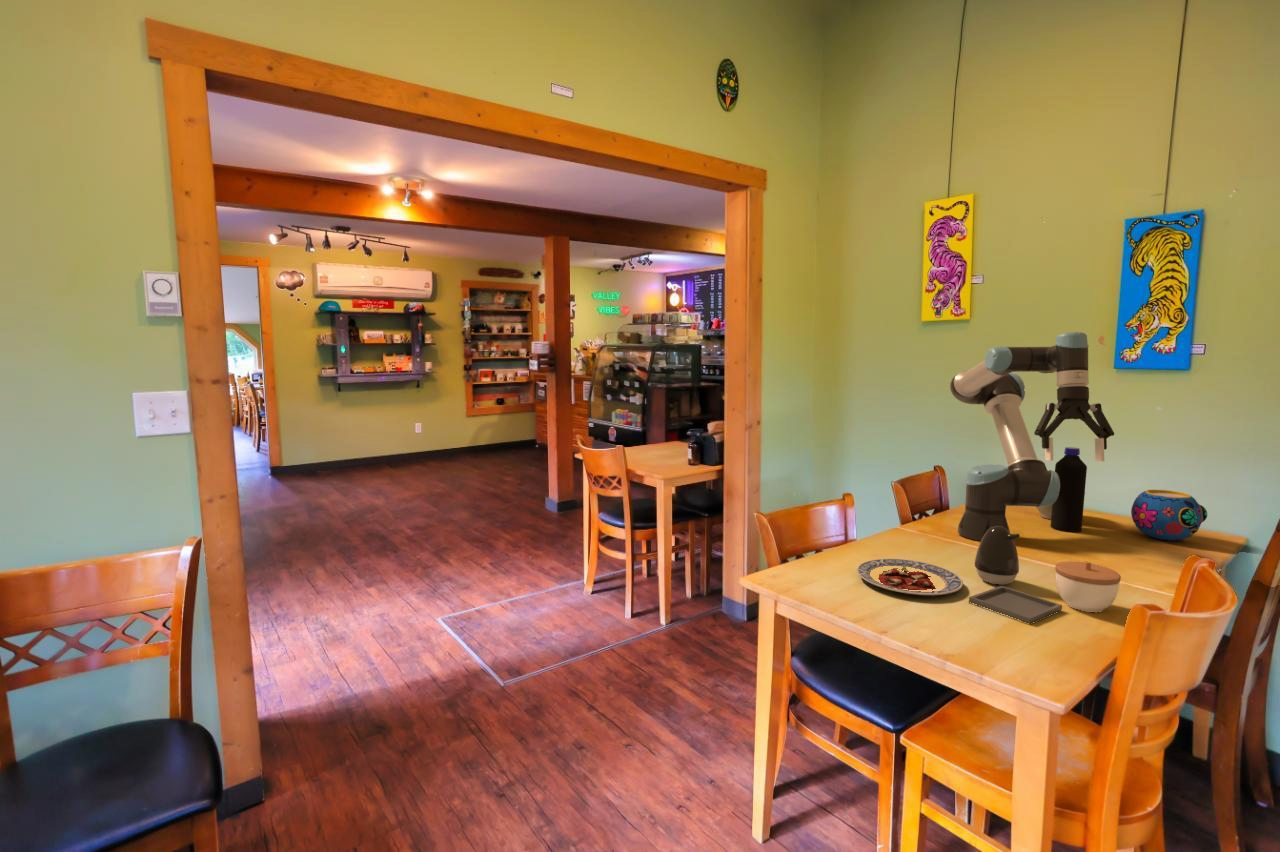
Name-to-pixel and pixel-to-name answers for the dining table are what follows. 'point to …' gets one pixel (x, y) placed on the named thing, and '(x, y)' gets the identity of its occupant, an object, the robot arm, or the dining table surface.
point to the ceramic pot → (1167, 514)
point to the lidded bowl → (1086, 585)
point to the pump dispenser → (997, 556)
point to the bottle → (1069, 492)
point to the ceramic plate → (909, 577)
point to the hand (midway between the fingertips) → (1074, 461)
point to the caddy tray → (1016, 604)
